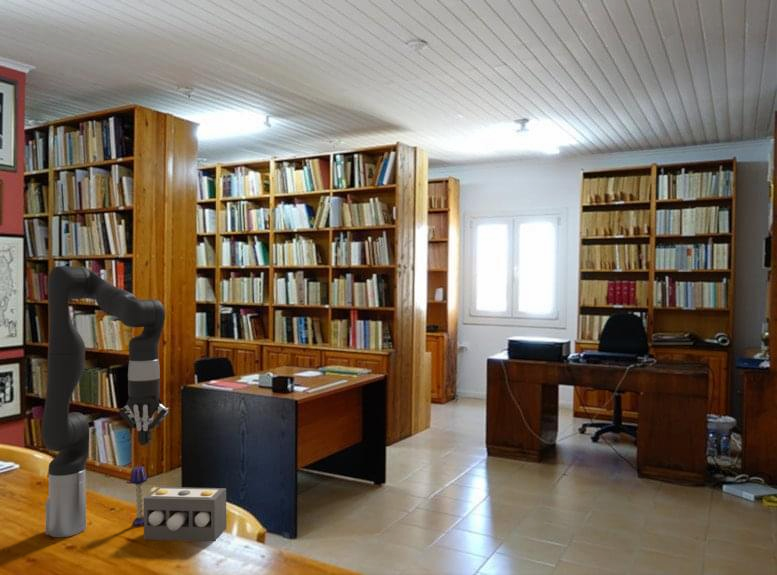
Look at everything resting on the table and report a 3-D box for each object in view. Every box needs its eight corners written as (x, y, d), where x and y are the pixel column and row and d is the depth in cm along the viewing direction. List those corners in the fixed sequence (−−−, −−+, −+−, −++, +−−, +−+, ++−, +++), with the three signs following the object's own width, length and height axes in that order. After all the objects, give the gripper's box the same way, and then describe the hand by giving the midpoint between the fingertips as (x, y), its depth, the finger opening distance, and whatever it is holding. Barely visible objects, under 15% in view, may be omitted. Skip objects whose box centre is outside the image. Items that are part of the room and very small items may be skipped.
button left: (148, 525, 162) (148, 512, 162) (159, 516, 168) (159, 503, 168) (161, 525, 161) (161, 512, 161) (171, 516, 168) (171, 503, 168)
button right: (194, 526, 161) (194, 513, 161) (203, 517, 167) (203, 504, 167) (207, 527, 160) (207, 514, 160) (216, 517, 167) (216, 505, 167)
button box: (143, 539, 163) (143, 496, 162) (159, 526, 172) (158, 484, 171) (214, 541, 161) (214, 497, 161) (226, 528, 170) (226, 486, 170)
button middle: (167, 530, 158) (166, 517, 158) (177, 520, 165) (177, 507, 165) (180, 530, 158) (179, 517, 158) (190, 521, 165) (189, 508, 165)
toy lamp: (141, 528, 170) (140, 470, 170) (126, 526, 171) (126, 469, 171) (151, 521, 175) (150, 465, 175) (137, 520, 176) (136, 464, 176)
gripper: (175, 375, 155) (176, 441, 155) (126, 374, 156) (127, 440, 156) (162, 379, 148) (162, 449, 148) (111, 379, 149) (112, 448, 149)
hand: (144, 444), depth 152 cm, fingers closed
